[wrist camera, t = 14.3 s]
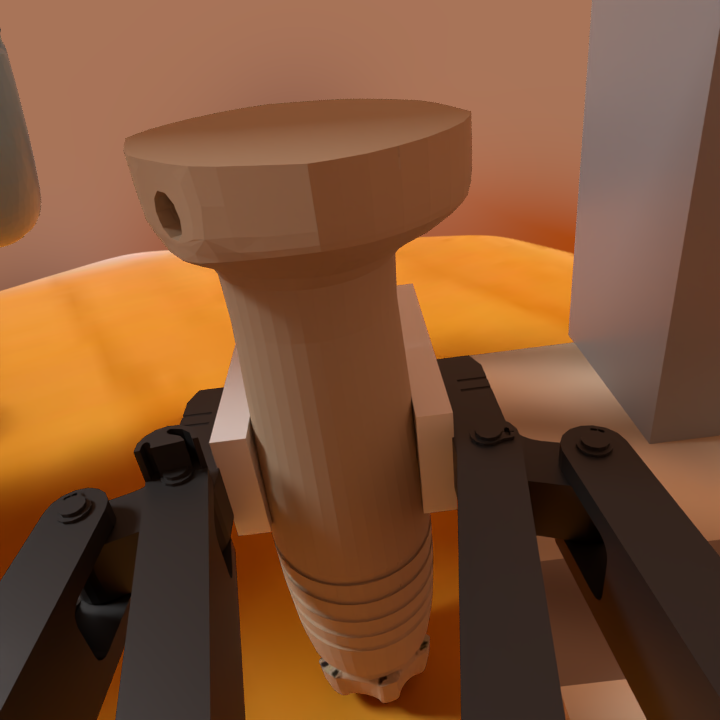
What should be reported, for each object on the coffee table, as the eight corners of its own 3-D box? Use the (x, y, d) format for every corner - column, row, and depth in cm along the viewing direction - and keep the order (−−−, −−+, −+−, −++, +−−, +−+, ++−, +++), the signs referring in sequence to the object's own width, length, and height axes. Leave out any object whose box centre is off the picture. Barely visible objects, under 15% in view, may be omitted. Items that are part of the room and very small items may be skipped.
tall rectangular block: (568, 334, 31) (592, -2, 23) (690, 319, 31) (754, -24, 23) (649, 444, 23) (725, -8, 15) (813, 424, 23) (972, -42, 15)
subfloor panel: (447, 378, 31) (446, 358, 30) (697, 346, 30) (701, 326, 30) (693, 1130, 10) (706, 1116, 9) (1476, 1050, 10) (1540, 1030, 9)
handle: (397, 811, 14) (282, 185, 7) (248, 643, 18) (73, 146, 11) (513, 668, 17) (530, 102, 9) (360, 550, 21) (283, 96, 13)
